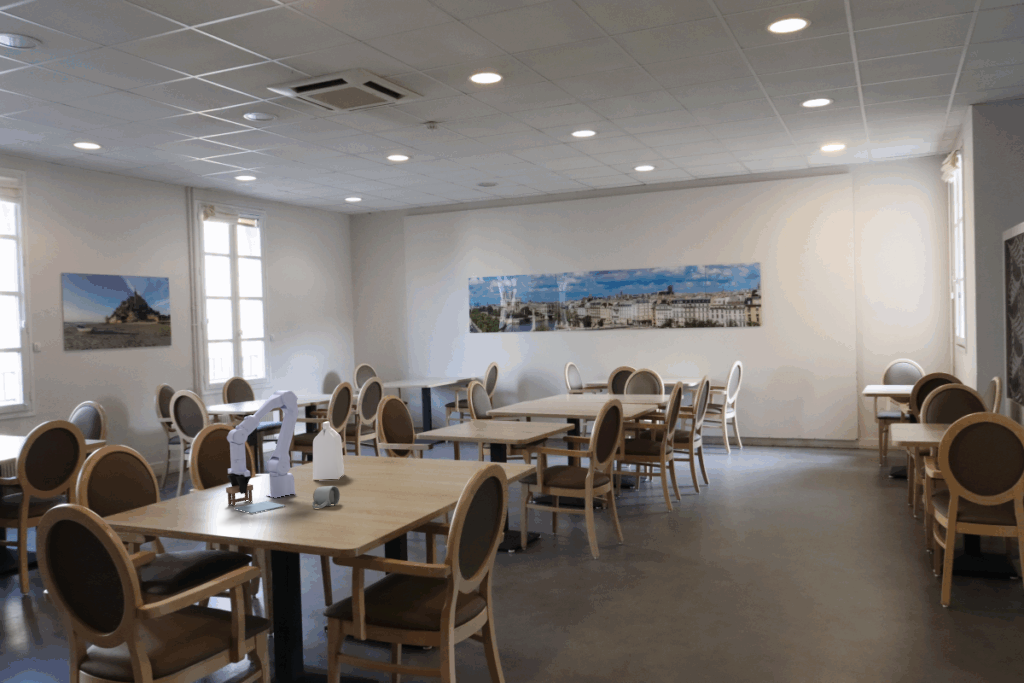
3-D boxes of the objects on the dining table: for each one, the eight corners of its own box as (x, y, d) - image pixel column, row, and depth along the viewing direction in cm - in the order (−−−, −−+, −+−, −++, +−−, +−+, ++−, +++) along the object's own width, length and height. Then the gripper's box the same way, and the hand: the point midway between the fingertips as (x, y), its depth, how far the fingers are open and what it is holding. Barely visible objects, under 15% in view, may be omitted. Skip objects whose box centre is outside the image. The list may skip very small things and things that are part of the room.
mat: (266, 502, 308) (266, 501, 308) (285, 506, 299) (285, 505, 299) (233, 509, 298) (233, 508, 298) (251, 514, 289) (251, 512, 289)
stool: (247, 500, 314) (246, 483, 314) (253, 502, 310) (253, 484, 310) (226, 505, 307) (225, 487, 307) (232, 506, 304) (232, 488, 304)
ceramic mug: (323, 502, 303) (322, 483, 303) (340, 503, 300) (339, 484, 300) (307, 509, 293) (305, 489, 293) (325, 510, 291) (323, 490, 290)
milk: (320, 475, 363) (317, 421, 363) (344, 474, 363) (341, 420, 362) (312, 480, 351) (310, 424, 351) (337, 479, 351) (334, 423, 350)
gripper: (220, 459, 310) (221, 492, 311) (237, 462, 301) (239, 496, 301) (236, 456, 316) (238, 489, 316) (254, 459, 306) (256, 493, 306)
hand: (239, 492), depth 309 cm, fingers closed on stool, 5 cm apart
